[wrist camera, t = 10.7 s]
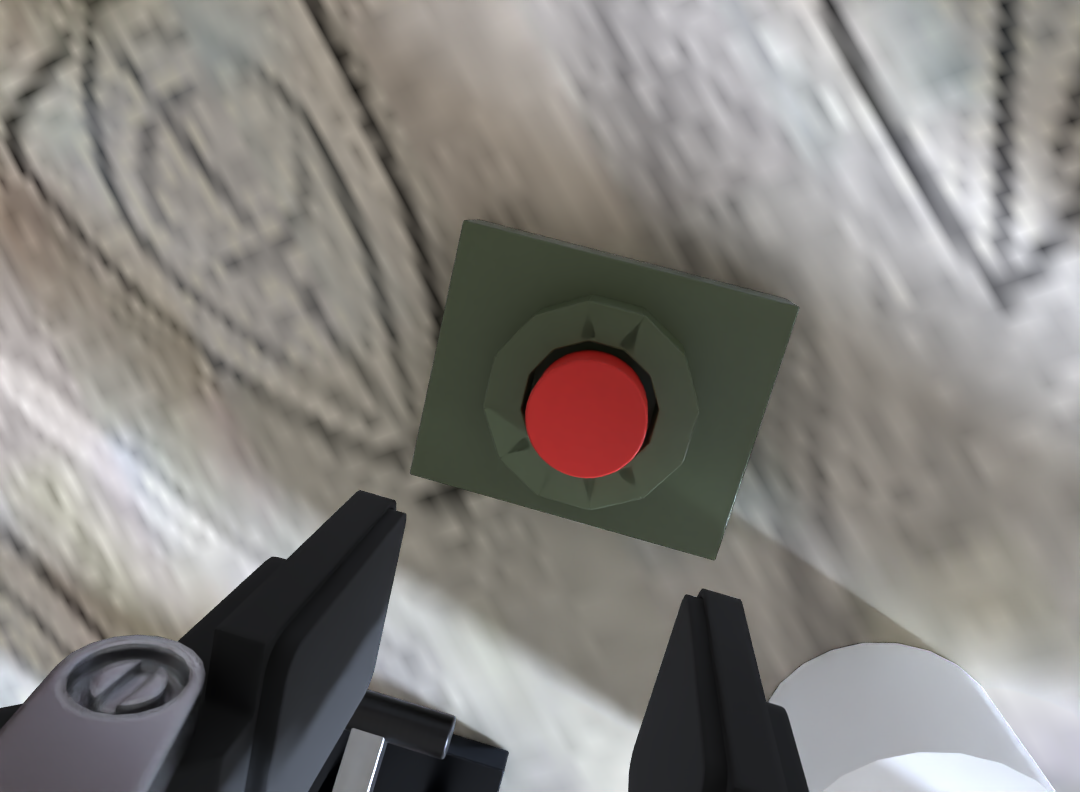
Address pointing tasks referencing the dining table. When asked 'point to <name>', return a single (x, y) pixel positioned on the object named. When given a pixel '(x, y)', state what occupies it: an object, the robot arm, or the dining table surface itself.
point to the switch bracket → (426, 768)
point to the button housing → (621, 330)
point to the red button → (587, 414)
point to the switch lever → (389, 737)
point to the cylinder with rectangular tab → (901, 725)
